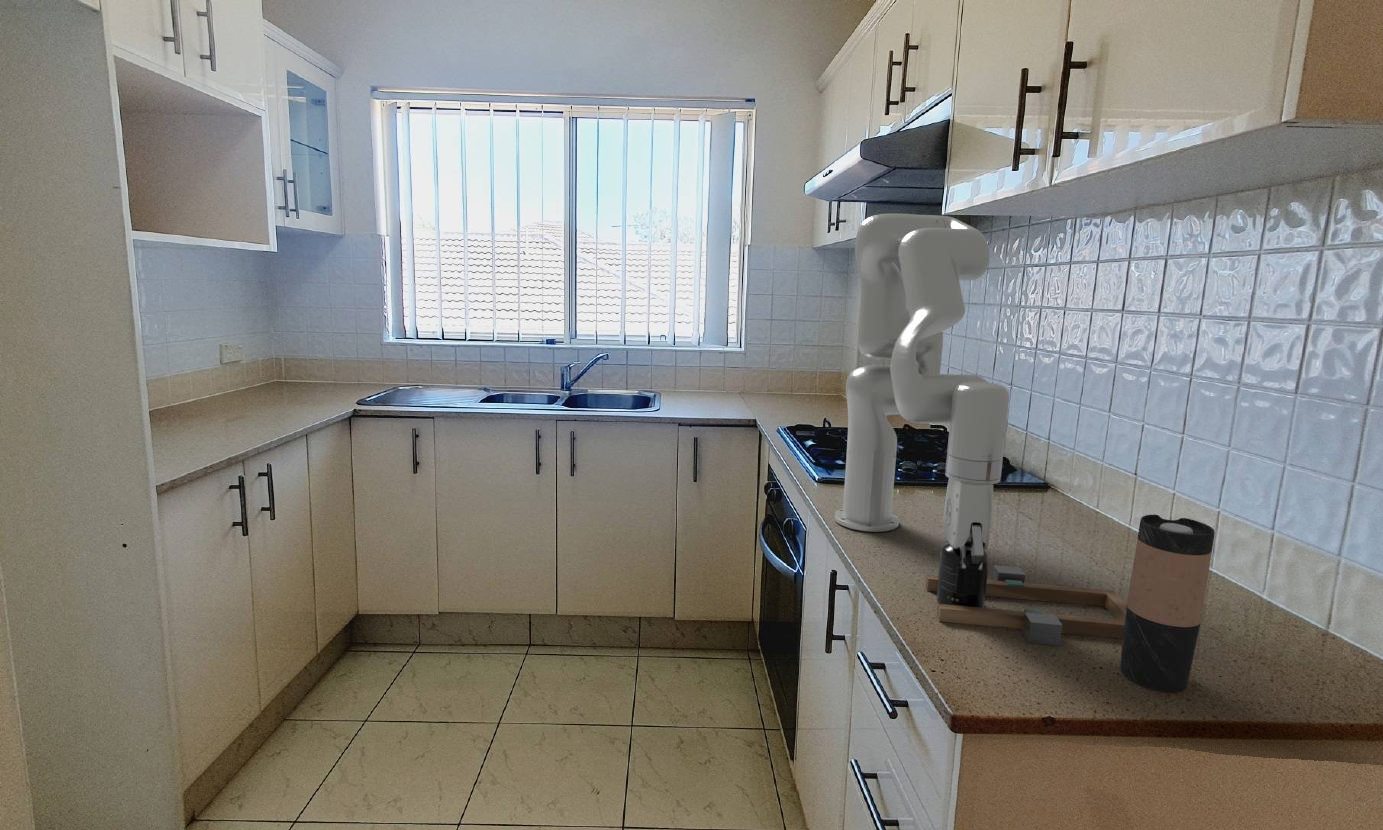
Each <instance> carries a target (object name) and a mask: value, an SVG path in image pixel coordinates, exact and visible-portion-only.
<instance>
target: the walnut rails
mask: <svg viewBox="0 0 1383 830" xmlns="http://www.w3.org/2000/svg"><path fill="white" fill-rule="evenodd" d="M925 581H926V582H925V588H926V591H927V592H936V593H937V585H938V575H929V574H927V575H926V579H925ZM985 597H996V598H1006V599H1007V598H1009V599H1016V600H1017V599H1019V600H1029V601H1030V600H1031V601H1042V602H1052V603H1065V604H1078V605H1086V606H1087V605H1088V606H1091V605H1092V606H1100V607H1101V606H1102V607H1105V609H1106V610H1107V611H1109V613H1110V614H1111V615H1112V616H1113V617H1114V619H1112V618H1102V617H1101V618H1100V617H1090V616H1078V615H1068V614H1067V615H1066V614H1055V613H1047V612H1046V613H1045V612H1044V611H1043V610H1036V609H1024V611H1022V610H1013V609H1012V610H1010V609H1003V608H1002V609H998V608H991V607H984V608H980V607H969V606H957V605H946V604H937V616H936V617H937V620H938V622H940V623H941V622H943V623H950V624H965V625H973V626H975V625H976V626H986V627H996V628H997V627H998V628H1005V629H1016V630H1018V629H1019V630H1022V628H1023V620H1024V612H1027V613H1038V614H1049V615H1055V616H1056V617H1057V618H1058V620H1059V621H1060V622H1061V624H1062V633H1061V634H1073V635H1082V636H1091V637H1092V636H1094V637H1101V638H1102V637H1103V638H1105V637H1106V638H1113V639H1115V638H1116V639H1123V635H1124V626H1125V617H1126V608H1127V602H1126V603H1125V601H1124V600H1123V599H1122V598H1121V597H1120V596H1119V595H1118V594H1117V593H1116V592H1115V591H1114V590H1110V589H1098V588H1086V587H1075V586H1073V587H1072V586H1062V585H1052V584H1051V585H1049V584H1038V583H1027V582H1024V583H1022V581H1016V580H1005V581H993V580H989V579H987V584H986V595H985Z"/></svg>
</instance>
